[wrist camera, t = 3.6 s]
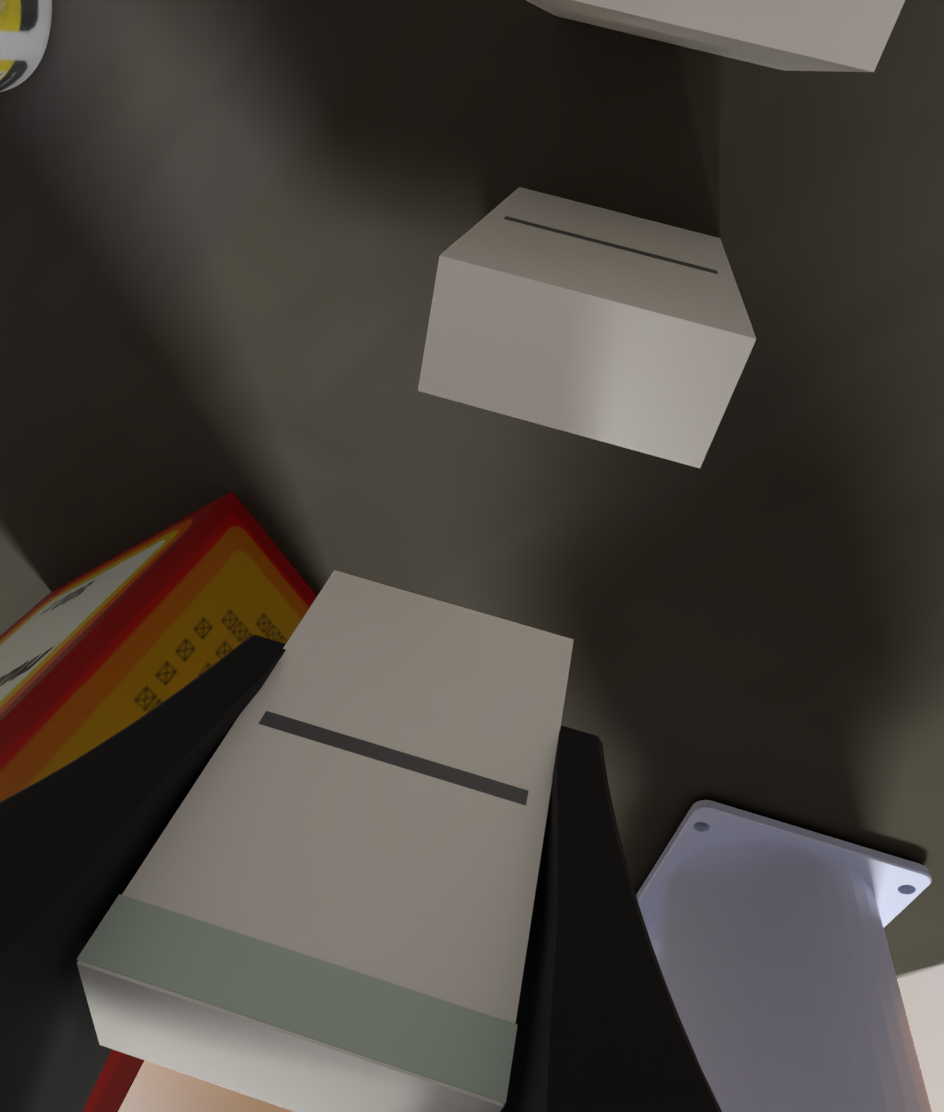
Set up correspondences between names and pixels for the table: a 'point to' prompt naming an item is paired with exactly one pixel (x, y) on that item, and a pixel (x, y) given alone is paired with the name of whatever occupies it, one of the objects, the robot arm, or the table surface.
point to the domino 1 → (753, 28)
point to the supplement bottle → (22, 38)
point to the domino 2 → (589, 325)
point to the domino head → (350, 869)
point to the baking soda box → (137, 654)
